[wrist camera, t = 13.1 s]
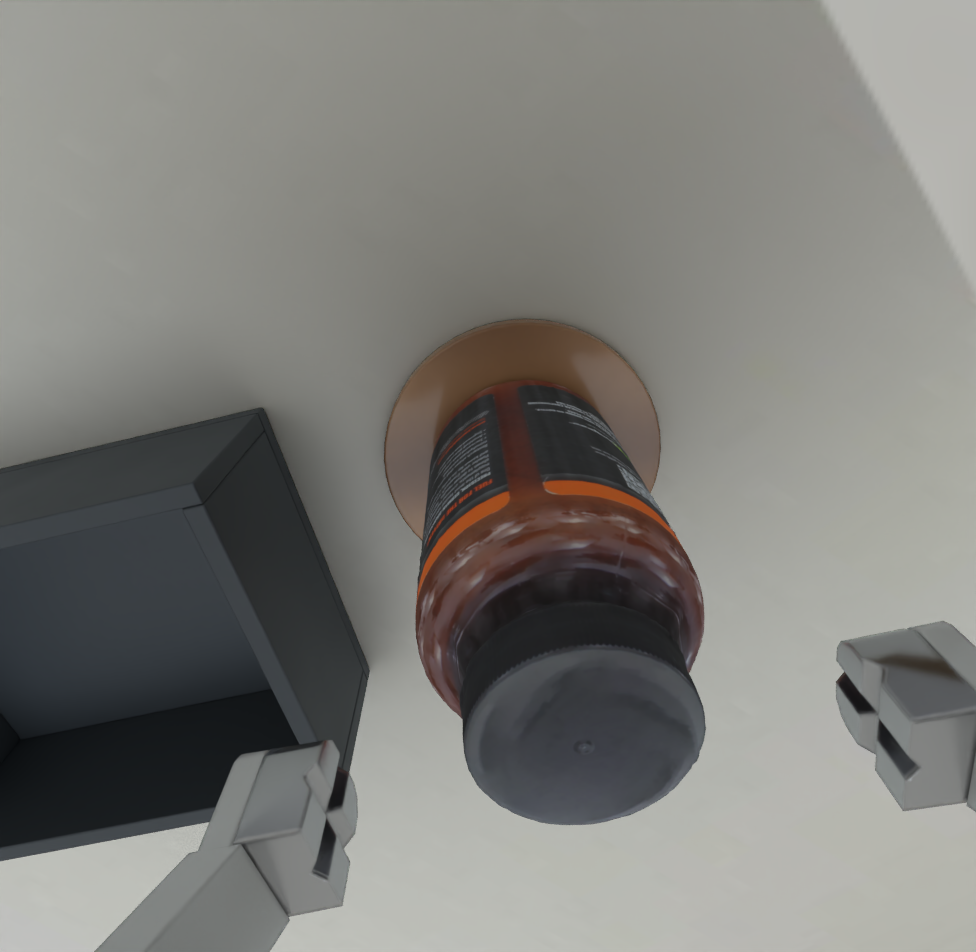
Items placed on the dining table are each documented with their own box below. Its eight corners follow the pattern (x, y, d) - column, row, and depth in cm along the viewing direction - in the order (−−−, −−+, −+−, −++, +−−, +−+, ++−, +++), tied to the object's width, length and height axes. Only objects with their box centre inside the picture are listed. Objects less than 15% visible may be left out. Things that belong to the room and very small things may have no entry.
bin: (-154, 504, 21) (-355, 607, 16) (263, 406, 20) (193, 482, 15) (25, 740, 25) (-85, 878, 20) (370, 670, 24) (345, 797, 19)
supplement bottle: (417, 526, 21) (370, 848, 11) (449, 356, 19) (426, 564, 8) (587, 554, 22) (693, 883, 11) (638, 393, 19) (832, 629, 9)
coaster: (349, 356, 19) (345, 361, 19) (638, 287, 19) (643, 290, 18) (427, 590, 23) (426, 600, 22) (669, 540, 22) (674, 548, 22)
